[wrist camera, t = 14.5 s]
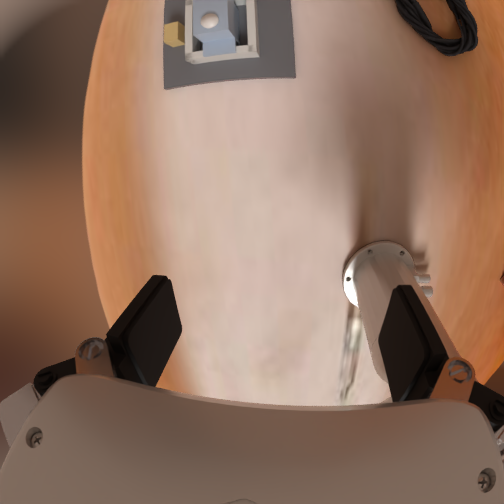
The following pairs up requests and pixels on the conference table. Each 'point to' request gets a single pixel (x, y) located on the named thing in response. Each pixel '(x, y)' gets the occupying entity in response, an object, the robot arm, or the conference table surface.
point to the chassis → (247, 54)
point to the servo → (216, 26)
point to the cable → (446, 46)
